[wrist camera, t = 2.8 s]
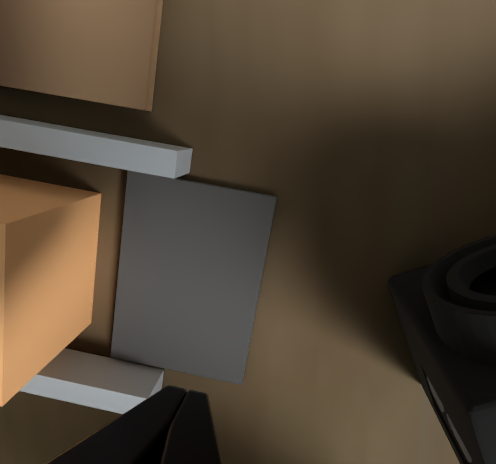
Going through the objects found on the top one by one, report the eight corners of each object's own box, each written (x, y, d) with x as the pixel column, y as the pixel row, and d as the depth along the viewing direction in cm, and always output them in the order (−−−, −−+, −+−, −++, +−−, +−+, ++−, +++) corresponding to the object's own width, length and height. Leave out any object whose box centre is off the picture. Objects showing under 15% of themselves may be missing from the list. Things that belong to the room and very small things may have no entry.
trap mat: (276, 196, 14) (276, 197, 13) (243, 380, 15) (241, 385, 15) (131, 169, 14) (127, 170, 14) (113, 352, 16) (110, 356, 16)
